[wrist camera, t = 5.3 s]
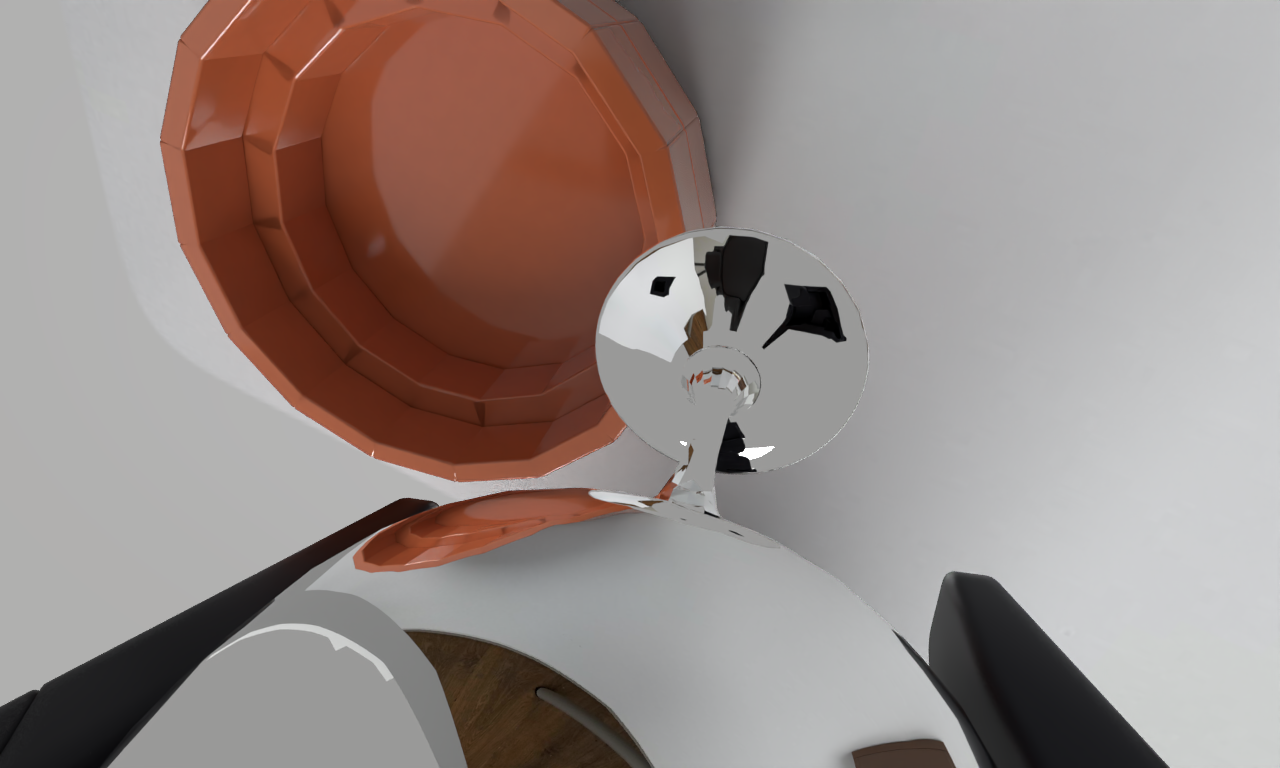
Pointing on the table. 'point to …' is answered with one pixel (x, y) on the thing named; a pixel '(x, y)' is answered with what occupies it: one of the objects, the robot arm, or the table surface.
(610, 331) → the wineglass
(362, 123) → the bowl
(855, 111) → the table surface
